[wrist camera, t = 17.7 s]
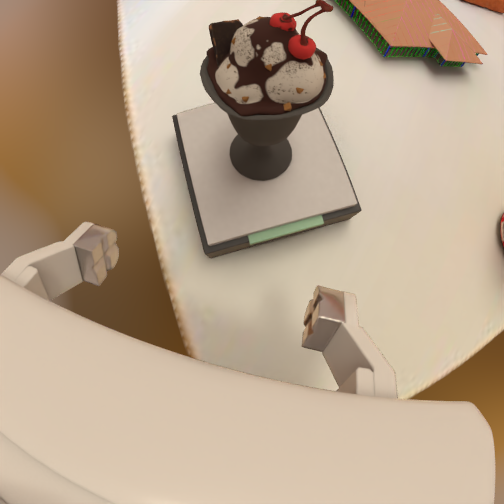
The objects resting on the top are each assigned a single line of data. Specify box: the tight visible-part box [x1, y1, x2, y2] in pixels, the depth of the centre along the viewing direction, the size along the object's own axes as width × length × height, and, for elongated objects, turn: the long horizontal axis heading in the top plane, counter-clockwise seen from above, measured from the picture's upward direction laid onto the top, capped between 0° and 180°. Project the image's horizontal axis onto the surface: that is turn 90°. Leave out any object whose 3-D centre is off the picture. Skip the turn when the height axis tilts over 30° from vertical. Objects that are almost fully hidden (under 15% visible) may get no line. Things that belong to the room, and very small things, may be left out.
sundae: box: [200, 0, 333, 181], centre depth 15 cm, size 7×7×15 cm
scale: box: [172, 103, 361, 258], centre depth 24 cm, size 13×13×4 cm
